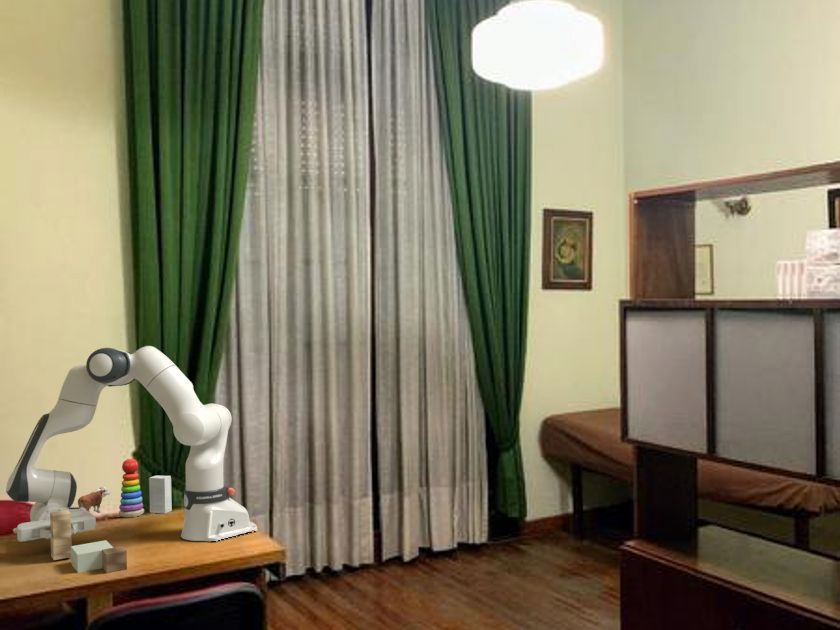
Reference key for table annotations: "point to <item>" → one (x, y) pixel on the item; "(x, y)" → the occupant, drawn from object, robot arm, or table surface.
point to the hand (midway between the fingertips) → (61, 533)
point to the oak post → (60, 534)
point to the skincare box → (160, 494)
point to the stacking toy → (130, 491)
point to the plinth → (88, 556)
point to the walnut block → (114, 559)
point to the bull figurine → (93, 499)
